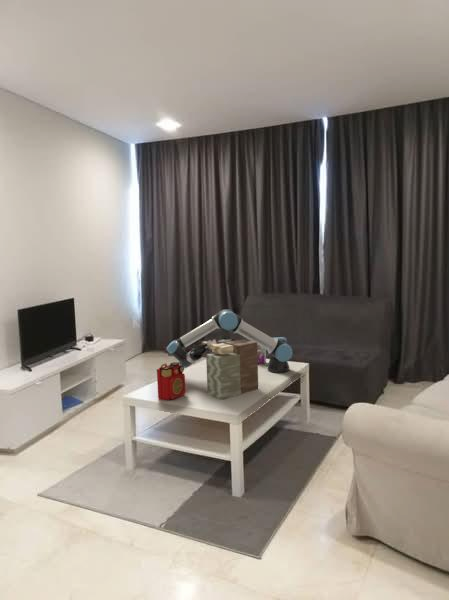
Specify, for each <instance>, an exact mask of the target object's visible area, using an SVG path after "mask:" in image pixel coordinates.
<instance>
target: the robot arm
mask: <svg viewBox="0 0 449 600" xmlns="http://www.w3.org/2000/svg"><path fill="white" fill-rule="evenodd" d="M243 319H244V318H243V317H241V316H239V315H238V314H236V312H235V313H234V312H233V310H231V309H228V308H227V309H222V310H220V311H219V312H217V313H216V314H214V315H213V316H212V317H211V319H209V320H207V321H206V322H204V323H203V324H201V325H199V326H197V327H196V328H194V329H193V330H190V331H189V332H187V333H185V334H184V335H182V336H180V337H179V338H178V339H174V340H172V341H171V342H169V344H168V345H167V346H166V349H165V350H166V351H167V352H168V354H170V355H171V356H173V357H174V358H175V359H176V360H178V361H177V362H178V363H179V365H182V366H183V367H184V369H187V368H189V367H191V366H192V365H193V364H196V362H198V361H199V360H201V358H203V355H204V354H205V353H208V352H210V351H212V349H209V348H207V347H209V346H210V345H212V344H211V343H215V344H218V343H216V342H217V341H216V339H212V340H211V339H209V340H208V341H207V342H206V343H205V344H204V345H202V344H201V345H198V346H197V347H195V348H192V349H191V350H190V351H189V352H187V351H186V350H185V348H187V347H189V346H190V345H191V344H193V343H195V342H197V341H199V340H200V339H202V338H203V337H205V336H207V335H208V334H210V333H212V332H213V331H215V330H217V329H219V330H220V329H224V330H226V331H228V332H231V333H232V334H239V335H240V336H242V337H243V338H245V339H246V340H249V341H254V342H257V344H258V345H259V346H261V347H263V348H264V349H266V352H267V354H269V362H268V365H267V371H268V372H270V373H273V374H274V373H275V374H280V373H287V371H288V372H289V371H290V365H289V362H288V361H289V360H290V359H292V356H293V349H292V347H291V345H290V344H288V343H287V341H288V340H287V338H286V337H284V336H281V337H271V336H270V335H267V334H266V333H264V332H262V331H261V330H259V329H257V328H256V327H254V326H253V325H250V324H249V323H247V322H246V321H244V320H243Z"/></svg>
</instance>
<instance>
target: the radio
mask: <svg viewBox="0 0 449 600" xmlns="http://www.w3.org/2000/svg"><path fill="white" fill-rule="evenodd" d="M184 371H185V368H184V367H183V366H182V365H180V364H179V362H178V361H177V362H176V361H175V362H171V363H169V364H167V363H162V364H161V365H160V367H158V368H156V376H157V380H156V381H157V399H158V398H159V399H158V400H165V401H170V400H174V399H176V398H179V397H181V396H183V395H185V394H186V376H185V375H186V374H185V373H183V372H184Z"/></svg>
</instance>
